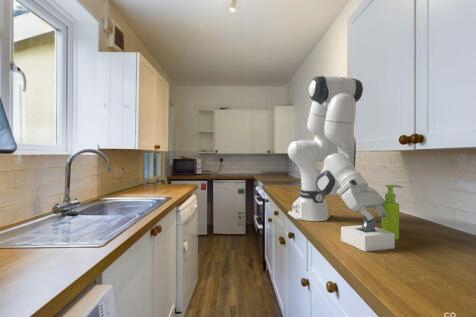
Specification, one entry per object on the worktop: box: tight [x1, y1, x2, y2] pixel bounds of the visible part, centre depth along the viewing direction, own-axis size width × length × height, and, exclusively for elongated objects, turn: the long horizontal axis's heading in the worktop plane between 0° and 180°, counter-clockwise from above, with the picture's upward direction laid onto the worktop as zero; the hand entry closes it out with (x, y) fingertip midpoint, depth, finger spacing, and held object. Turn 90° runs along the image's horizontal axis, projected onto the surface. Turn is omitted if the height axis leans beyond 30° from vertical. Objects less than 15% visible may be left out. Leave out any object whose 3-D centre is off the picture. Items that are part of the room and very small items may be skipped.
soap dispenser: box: [380, 184, 403, 241], centre depth 101 cm, size 6×7×20 cm
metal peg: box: [361, 216, 378, 233], centre depth 94 cm, size 4×4×9 cm
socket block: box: [340, 224, 396, 252], centre depth 94 cm, size 12×12×5 cm
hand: (378, 218), depth 94 cm, fingers open, 8 cm apart
